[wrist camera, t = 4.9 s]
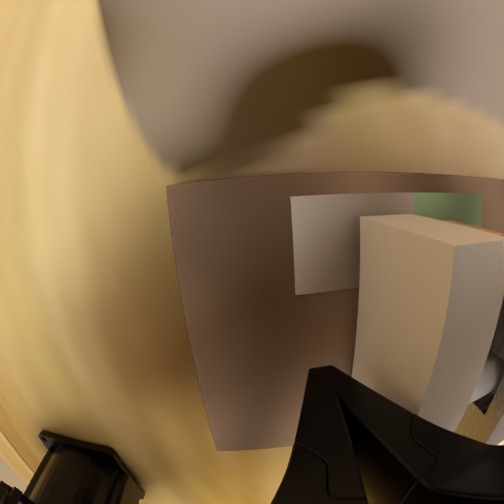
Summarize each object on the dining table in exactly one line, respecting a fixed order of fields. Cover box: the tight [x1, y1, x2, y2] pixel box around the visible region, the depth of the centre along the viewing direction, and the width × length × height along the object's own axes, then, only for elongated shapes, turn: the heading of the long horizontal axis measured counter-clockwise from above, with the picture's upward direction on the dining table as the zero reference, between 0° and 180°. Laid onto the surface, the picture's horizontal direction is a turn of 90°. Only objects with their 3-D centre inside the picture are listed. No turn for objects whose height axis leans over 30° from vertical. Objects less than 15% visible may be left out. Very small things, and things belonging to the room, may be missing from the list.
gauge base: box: [166, 172, 504, 451], centre depth 10 cm, size 17×12×1 cm
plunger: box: [352, 214, 504, 432], centre depth 7 cm, size 9×10×4 cm
